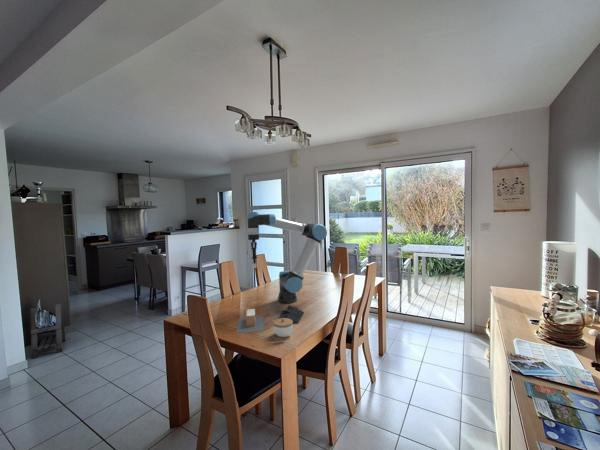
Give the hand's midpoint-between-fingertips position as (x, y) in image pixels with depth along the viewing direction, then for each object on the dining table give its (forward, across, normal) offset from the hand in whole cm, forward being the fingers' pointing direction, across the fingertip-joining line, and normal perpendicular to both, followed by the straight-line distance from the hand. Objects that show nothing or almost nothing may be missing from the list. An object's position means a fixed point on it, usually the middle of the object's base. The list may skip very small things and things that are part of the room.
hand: (254, 267), depth 187 cm
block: (+27, +27, -3) cm, 38 cm away
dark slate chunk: (+31, +17, +22) cm, 42 cm away
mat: (+30, +24, -3) cm, 39 cm away
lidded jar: (+31, +43, +15) cm, 55 cm away
